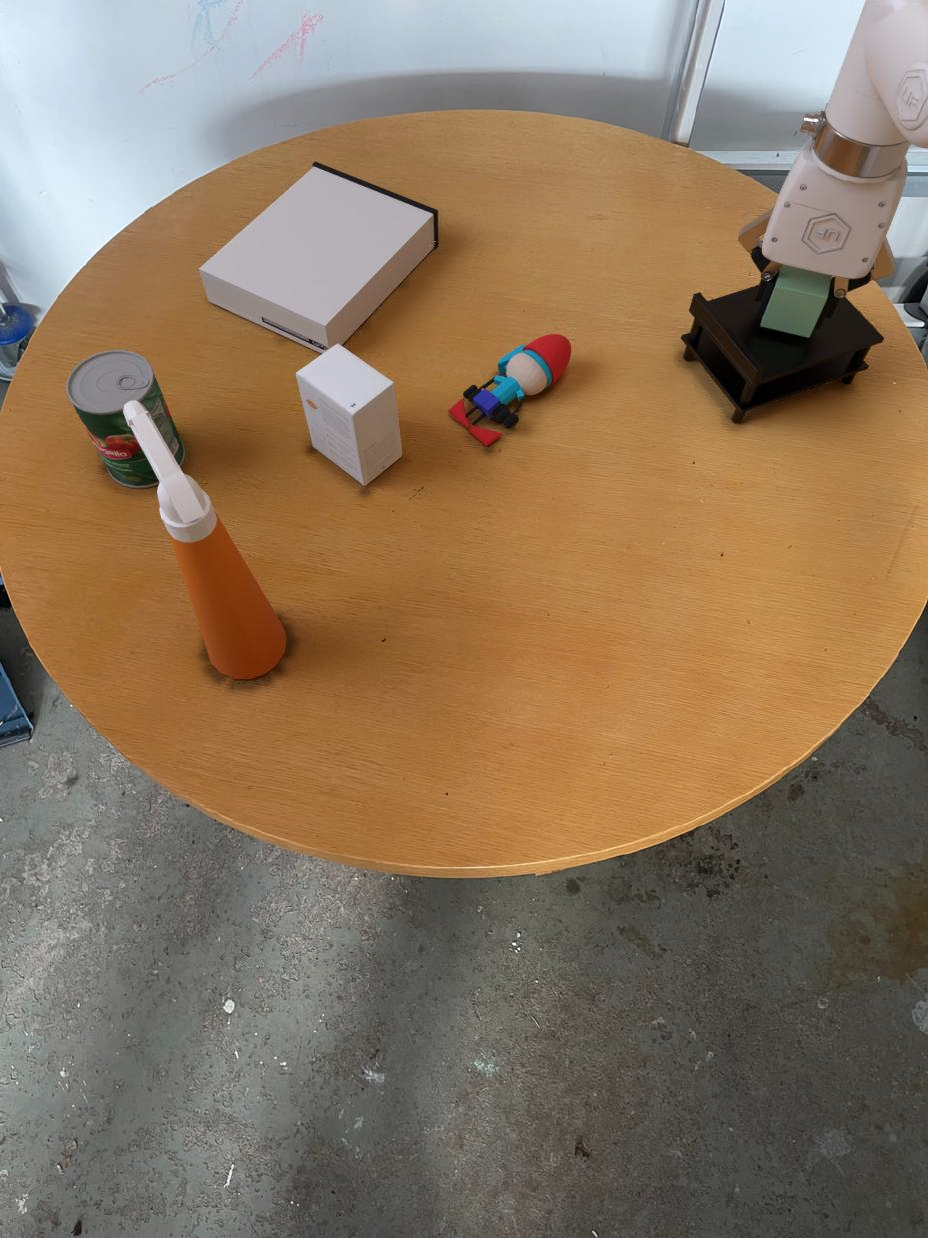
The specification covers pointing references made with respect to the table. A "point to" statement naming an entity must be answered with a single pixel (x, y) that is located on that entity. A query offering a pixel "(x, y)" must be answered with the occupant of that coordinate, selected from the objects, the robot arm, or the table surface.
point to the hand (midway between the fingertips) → (790, 311)
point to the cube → (796, 301)
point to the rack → (773, 350)
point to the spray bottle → (211, 566)
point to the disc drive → (321, 257)
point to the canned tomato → (121, 412)
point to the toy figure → (515, 383)
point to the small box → (351, 413)
